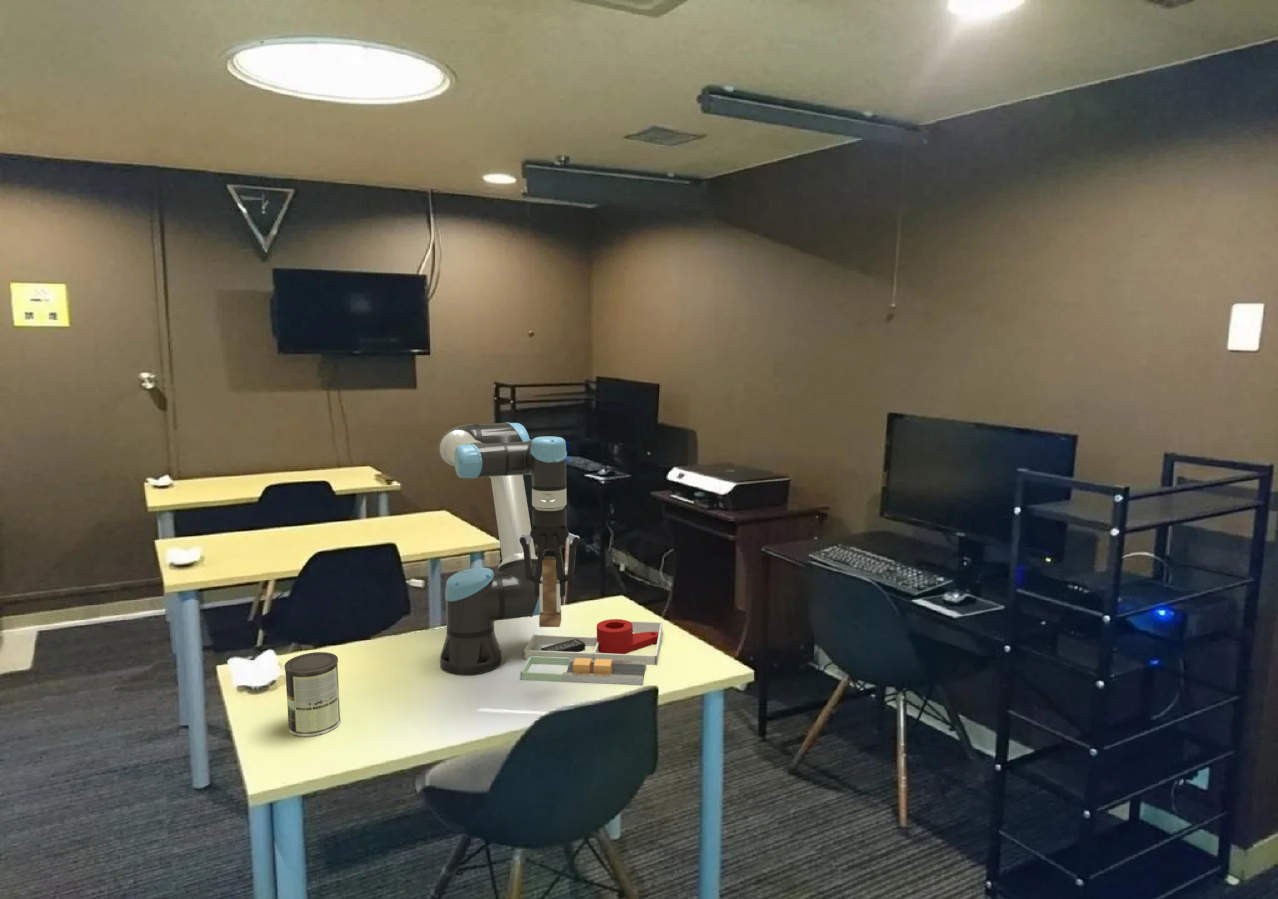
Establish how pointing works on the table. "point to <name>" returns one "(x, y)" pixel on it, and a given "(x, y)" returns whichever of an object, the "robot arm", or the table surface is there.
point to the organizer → (592, 641)
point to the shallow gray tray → (620, 674)
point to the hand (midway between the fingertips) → (550, 610)
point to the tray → (543, 676)
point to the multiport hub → (566, 646)
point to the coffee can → (312, 693)
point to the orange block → (602, 666)
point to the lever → (622, 637)
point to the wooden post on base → (549, 594)
